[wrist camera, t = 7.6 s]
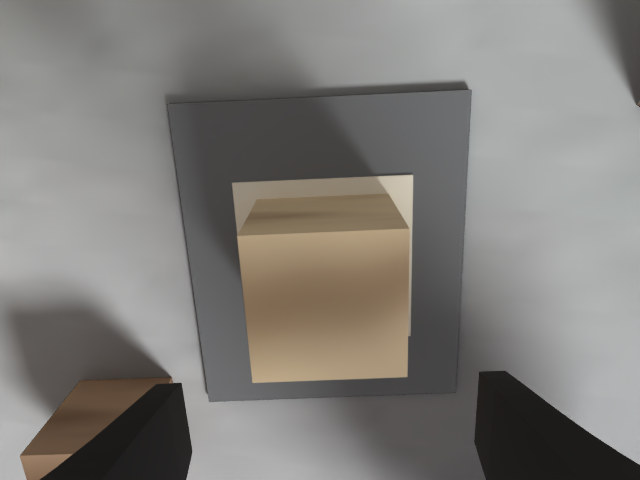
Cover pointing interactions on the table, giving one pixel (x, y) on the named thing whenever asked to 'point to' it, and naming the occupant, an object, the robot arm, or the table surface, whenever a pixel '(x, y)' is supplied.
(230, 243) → the gray rectangular panel
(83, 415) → the walnut block
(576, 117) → the table surface
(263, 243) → the oak block
